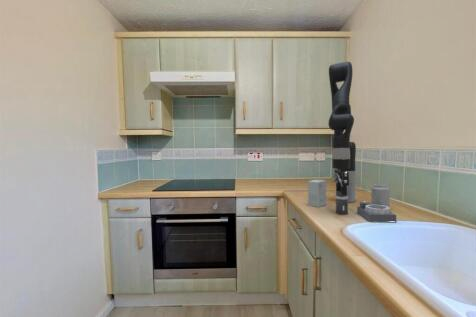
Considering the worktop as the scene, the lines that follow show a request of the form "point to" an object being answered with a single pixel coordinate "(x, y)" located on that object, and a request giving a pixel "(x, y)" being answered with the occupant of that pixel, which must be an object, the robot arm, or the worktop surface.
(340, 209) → the lens
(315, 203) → the small box
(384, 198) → the can
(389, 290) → the worktop surface
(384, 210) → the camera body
